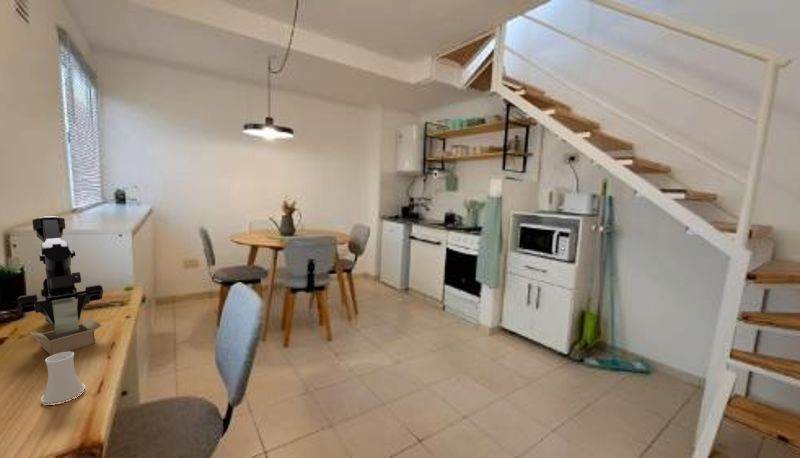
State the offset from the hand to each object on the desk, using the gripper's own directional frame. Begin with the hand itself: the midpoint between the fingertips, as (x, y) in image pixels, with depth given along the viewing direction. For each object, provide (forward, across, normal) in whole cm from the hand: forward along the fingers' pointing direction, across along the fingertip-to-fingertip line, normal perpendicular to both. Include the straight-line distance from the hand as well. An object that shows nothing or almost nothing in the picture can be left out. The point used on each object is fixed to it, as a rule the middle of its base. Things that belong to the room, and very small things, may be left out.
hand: (66, 322), depth 104 cm
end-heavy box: (+4, 0, +6) cm, 7 cm away
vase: (+28, -3, -17) cm, 33 cm away
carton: (+5, 0, +6) cm, 8 cm away
